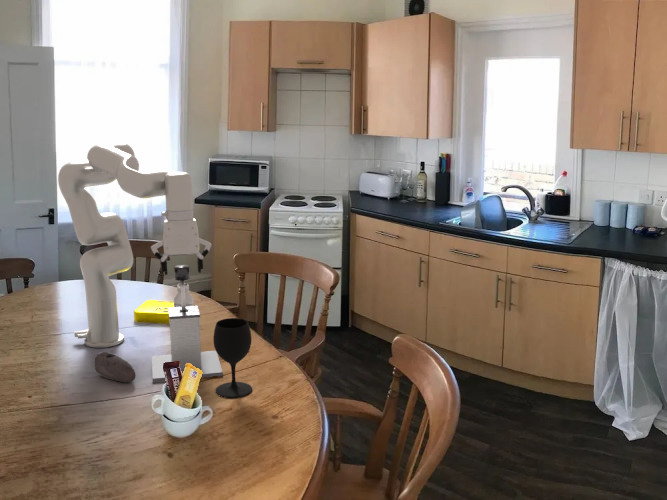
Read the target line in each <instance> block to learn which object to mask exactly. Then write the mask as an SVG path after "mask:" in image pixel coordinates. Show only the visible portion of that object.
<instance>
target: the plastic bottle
mask: <svg viewBox="0 0 667 500" xmlns="http://www.w3.org/2000/svg"><path fill="white" fill-rule="evenodd" d="M176 292H177V293H176V294H175V296H174V297H173V300H172V301H173V304H174V307H182V305H181V283H178V284H177V287H176ZM194 301H195V300H194V297H193V295H191V292H190V285H189V284H188V283H185V302H186V306H194V304H195V303H194Z"/></svg>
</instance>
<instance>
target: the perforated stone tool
mask: <svg viewBox="0 0 667 500" xmlns="http://www.w3.org/2000/svg"><path fill="white" fill-rule="evenodd" d="M94 370H95V372H96V373H97V374H99V375H101V376H102V377H104V378H106V379H109V380H113V381H117V382H121V383H127V384H128V383H133V382H134V381H135V379H136V376H137V375H136V371H135V369H134V367H133V366H132V365H131V364H130V362H128V361H126V360H125V359H123V358H122V357H120V356H118V355H116V354H114V353H113V354H112V353H109V352H106V351H104V352H100V353H98V354H96V355H95V356H94Z"/></svg>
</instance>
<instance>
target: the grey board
mask: <svg viewBox="0 0 667 500" xmlns="http://www.w3.org/2000/svg"><path fill="white" fill-rule="evenodd" d="M165 362H171V353H170V354H159V355H151V368H152V383H162V382H163V383H164V382H166V381H165V375H164V372H163V363H165ZM199 369H200V370H202V372H203V374H202V377H207V378H212V377H211V376H218V377H223V369H222V366H221V362H220V358H219V355H218V354H217V352H216V350H208V351H205V350H204V351H201V368H199ZM181 371H182V373H183V371H184V369H183V370H181Z"/></svg>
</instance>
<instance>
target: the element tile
mask: <svg viewBox="0 0 667 500" xmlns="http://www.w3.org/2000/svg"><path fill="white" fill-rule="evenodd" d="M170 307H174V304H173V300H163V299H161V300H159V299H147V300H146V301H144V302H143V303H142V304H140V305H139V306H138V307H137V308H135V309H134V310H133V318H134V323H137V324H138V323H140V324H141V323H143V324H158V325H159V324H160V325H165V324H166V325H170V321H169V312H168V308H170Z"/></svg>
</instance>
